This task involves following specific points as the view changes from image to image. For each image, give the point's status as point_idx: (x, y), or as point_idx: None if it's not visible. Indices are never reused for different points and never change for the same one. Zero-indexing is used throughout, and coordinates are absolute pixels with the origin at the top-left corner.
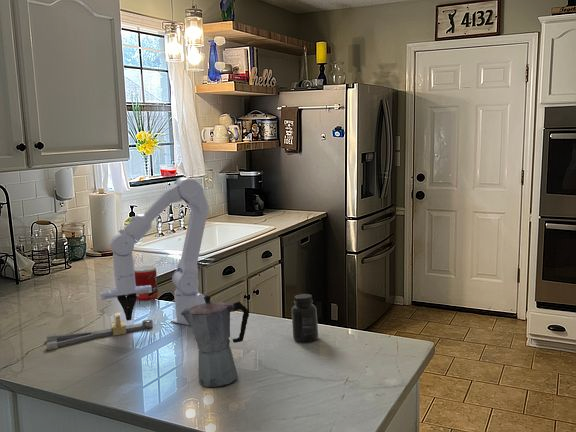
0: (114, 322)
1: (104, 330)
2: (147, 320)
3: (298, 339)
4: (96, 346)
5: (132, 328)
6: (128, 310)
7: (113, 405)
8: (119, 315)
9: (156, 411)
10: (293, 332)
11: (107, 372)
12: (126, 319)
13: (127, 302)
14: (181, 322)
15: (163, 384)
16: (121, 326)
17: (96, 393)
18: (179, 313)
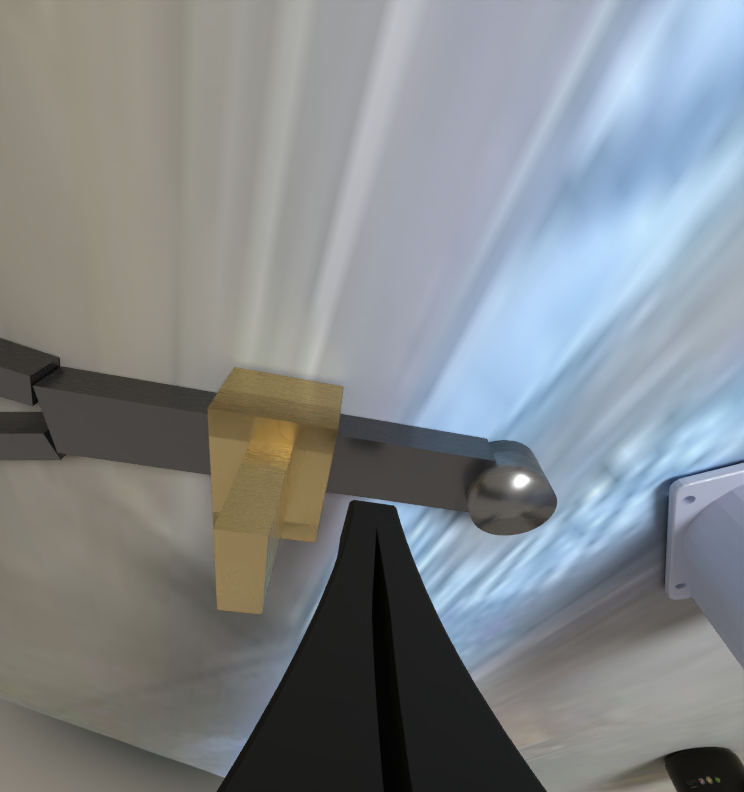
0: (247, 419)
1: (159, 424)
2: (523, 500)
3: (667, 771)
4: (126, 546)
5: (377, 492)
6: (373, 615)
7: (187, 762)
8: (259, 606)
9: None
10: (688, 786)
11: (179, 699)
12: (342, 532)
13: (388, 717)
14: (672, 553)
15: None
16: (283, 537)
17: (151, 738)
18: (730, 600)
